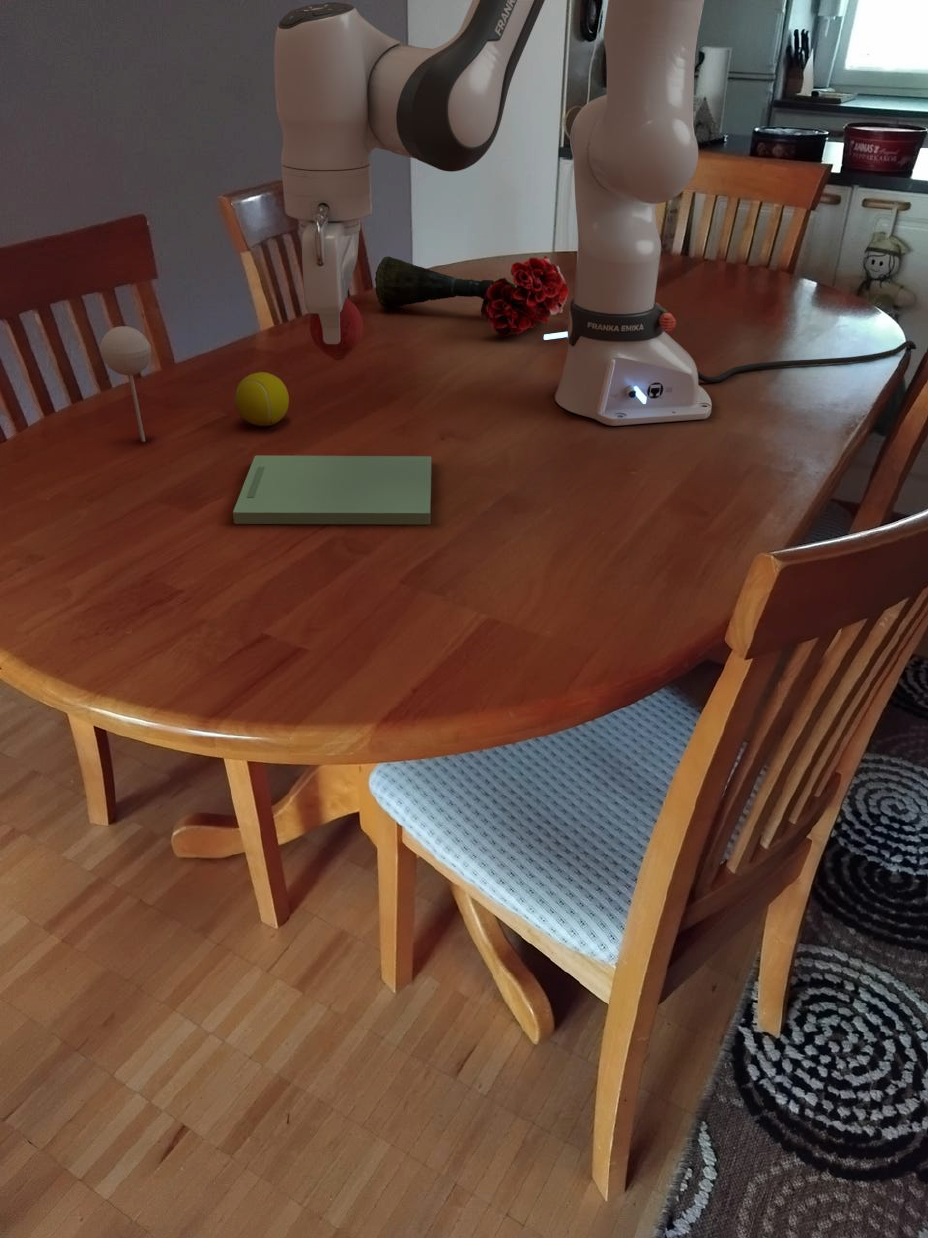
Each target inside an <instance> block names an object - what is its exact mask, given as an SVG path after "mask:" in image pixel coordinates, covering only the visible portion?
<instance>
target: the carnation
mask: <svg viewBox="0 0 928 1238" xmlns="http://www.w3.org/2000/svg"><path fill="white" fill-rule="evenodd" d="M376 268H377V269H376V271H375V278H374V281H375V295H376V299H377V302H378V304H379V305H380V306H381V307H382V308H384V309H391V308H395V307H396V308H398V307H399V306H400V307H403V306H408V305H413V304H420V303H424V302H428V301H437V300H444V299H450V298H456V297H465V298H473V297H477V298H479V299H481V300H482V303H481V307H480V308H481V309H480V314H481V317H483V318H484V319H486V320H487V321H488V323H489V325H490V326H491V328H492V329H494V330H495V331H496V333H497V334H498V335H499V336H500V337H502V338H505V337H507V336H512V335H514V334H515V335H519V334H520V333H523V332H524V331H525V330H527V329H528V328H531V329H533V328H534V327H535V326H537V325H538V322H540V323H542V324H543V325H548V324H549V319H550V316H553V315H554V316H555V315H557V314H558V313H560V314H562V313H563V310H564V309H563V307H564V305H566V302H567V299H568V298H567V297H568V296H569V294H570V288H569V287H568V285H567V284H566V280H565V277H564V275H563V274H562V273H561V269H560V267H559V265H556V264H554V263H551V259H550V258H549V257H548V256H547V255H544V257H543V258H538V257H530V258H528V259H527V260H525V261H524V262H518V261H517V262H514V263H513V264H511V268H510V273H511V276H512V280H513V282H510V281H508V279H507V278H506V277H502V278H499V279H496V280H495V281H494V280H493V279H482V280H478V279H477V280H476V279H472V278H471V279H466V278H465V279H463V278H457V277H455V276H451V275H447V274H444V273H442V272H441V273H440V272H438V271H435V270H431V269H430V268H429V269H428V268H425V267H423V266H420V265H416V264H413V263H411V262H406V261H405V260H402V259H398V258H395V257H391V256H384V257H383V258H382V259H381V261H380V262H379V264H378V265H377V267H376Z"/></svg>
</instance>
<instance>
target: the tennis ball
mask: <svg viewBox="0 0 928 1238" xmlns="http://www.w3.org/2000/svg"><path fill="white" fill-rule="evenodd" d="M234 397H235V398H234V400H235V401H234V402H235V406H236V410H237V412H238V413H239V415H240V416H241V417H242V419H244V420H245V421H246V422H247V423H249V424H252V425H254V426H258V427H271V426H273V425H275V424H277V423H279V422H280V421H281V420H282V419H283V418H284V417H285V415H286V414H287V411H288V409H289V404H290V396H289V392H288V389H287V387H286V385H285V383H284V382H283V381H282V380H281V379H280V378H279V377H278V376H276V375H274V374H272V373H269V372H264V371H259V372H253V373H251V374H249V375H247V376H245V377H244V378H243V379H242V380H241V381H240V382H239V383H238V385H237V387H236V389H235V396H234Z"/></svg>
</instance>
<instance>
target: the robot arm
mask: <svg viewBox="0 0 928 1238" xmlns="http://www.w3.org/2000/svg"><path fill="white" fill-rule="evenodd" d="M544 3H545V0H471V3H470V5H469V7H468V10H467V12H466V14H465V17H464V19H463V21H462V24H461V26H460V28H459V30H458V31H457V32H456V34H455V35H454V36H453V37H452V38H451V39H449V40H448V41H447V42H445V43H444V44H441V45H439V46H437V47H433V48H428V47H421V46H415V45H412V44H411V45H410V44H403V43H402V42H401V40H398V39H396V38H393V37H391V36H389V35H387V34H386V33H384V32H382V30H381V31H380V30H379V29H377V28H376V27H375V26H374V25H372V24H371V23H369V21H368V20H366V19H365V18H364V17H363V16H361V14H360V13H359V11H358V10H357V8H356V7H355V6H354V5H352V4H349V3H347V2H340V1H339V2H338V1H337V2H325V3H319V4H318V3H315V4H310V5H309V4H308V5H304V6H301V7H298V8H296V9H293V10H291V11H289V12H288V13H287V14H285V15H284V16H283V17H282V18H281V19H280V21H279V22H278V24H277V28H276V31H275V37H274V48H273V49H274V51H273V76H274V80H273V81H274V97H275V107H276V108H275V109H276V110H275V111H276V116H277V120H278V122H279V125H280V128H281V133H282V148H281V154H280V168H281V181H282V191H283V204H284V214H286V216H288V217H290V218H292V219H295V220H297V222H298V231H299V232H300V233H302V238H301V258H302V259H301V264H302V283H303V298H304V299H303V301H304V306H305V309H306V312H307V313H309V314H312V313H314V314H319V317H320V321H321V325H322V330H323V341H324V343H326V344H338V343H339V342H340V340H341V323H340V312H341V311H342V308H343V305H344V301H345V298H347V299H348V293H349V292H348V291H349V288H350V285H351V282H352V278H353V275H354V273H355V268H356V265H357V261H358V256H359V255H358V254H359V239H360V231H361V219H363V218H366V217H368V216H370V215H372V213H373V205H372V201H373V200H372V180H371V179H372V176H371V175H372V174H371V153H372V151H373V150H374V149H379V150H384V151H387V152H391V153H393V154H396V155H400V156H404V157H407V158H411V159H415V160H417V161H419V162H422V163H424V164H426V165H428V166H431V167H433V168H435V169H437V170H440V171H443V172H450V173H452V172H460V171H463V170H466V169H468V168H470V167H472V166H474V165H475V164H476V163H477V162H479V161H480V160H481V159H482V158H483V157H484V156H485V155H486V153H487V152H488V150H489V149H490V148H491V146H492V144H493V143H494V141H495V139H496V137H497V135H498V132H499V129H500V126H501V123H502V119H503V114H504V111H505V106H506V101H507V97H508V93H509V89H510V86H511V83H512V80H513V77H514V74H515V71H516V69H517V66H518V63H519V61H520V60H521V56H522V55H523V52H524V50H525V48H526V45H527V43H528V41H529V38H530V37H531V34H532V31H533V29H534V27H535V25H536V22H537V20H538V17H539V15H540V12H541V10H542V8H543V5H544ZM704 3H705V0H607V5H606V6H607V7H606V11H605V18H604V19H605V20H604V25H603V36H602V37H603V44H604V49H605V57H606V58H605V59H606V94H604V95H601V96H598V97H597V98H595V99H592V100H590V101H588V102H587V103H586V104H585V105H584V106H583V107H582V108H581V109H580V110H579V111H578V113H577V114H576V116H575V118H574V119H573V122H572V124H571V129H570V132H569V133H570V134H569V145H570V151H571V154H572V155H571V156H572V160H573V178H574V179H573V180H574V181H573V182H574V200H575V211H576V212H575V213H576V225H577V227H576V229H577V251H576V266H575V280H574V291H573V298H572V299H571V300H570V304H569V306H570V307H569V310H568V317H567V329H566V331H563V332H555V333H547V334H544V335H543V340H545V341H546V340H554V339H562V338H567V342H568V346H567V351H566V357H565V361H564V366H563V370H562V374H561V377H560V380H559V384H558V387H557V389H556V392H555V394H554V401H555V402H556V403H557V404H558V405H559V406H560V407H561V408H563V409H564V410H566V411H568V412H570V413H573V414H576V415H580V416H583V417H586V418H591V419H594V420H596V421H597V422H600V423H601V424H603V425H607V426H610V427H611V426H612V427H613V426H615V427H616V426H617V427H618V426H631V425H643V424H656V423H670V422H682V421H683V422H684V421H695V420H696V421H697V420H706V419H708V418H709V417H710V415H711V414H712V408H713V407H712V406H713V404H712V403H713V402H712V400H711V397H710V395H709V394H708V392H707V391H706V390H705V389H704V388H703V387H702V386H701V385H699V380H700V381H702V382H704V383H708V384H716V383H717V384H718V383H721V382H722V381H725V380H726V379H727V378H729V377H731V376H732V375H734V374H737V373H741V372H746V371H754V370H760V369H770V368H771V369H772V368H782V367H784V368H785V367H798V366H799V367H800V366H801V367H802V366H819V365H833V364H847V363H849V364H850V363H858V362H867V361H872V360H879V359H883V358H884V359H885V358H887V357H892V356H894V355H895V356H896V355H897V354H899V353H900V352H902V351H903V350H905V349H906V348H908V347H909V348H910V349H911V350H917V345H916V344H915V342H914V341H912V340H906V341H904V342H902V343H901V344H900V345H899V346H897V347H896V348H893V349H889V350H886V351H881V352H877V353H871V354H864V355H857V356H846V357H831V358H829V357H828V358H815V359H794V360H793V359H792V360H779V361H767V362H758V363H749V364H744V365H738V366H734V367H732V368H730V369H728V370H726V371H725V372H723V373H722V374H720V375H718V376H707V375H705V374H703V373H702V372H700V371H698V368H697V364H696V362H695V360H694V359H693V358H692V355H690V353H689V352H688V351H687V350H686V349H684V348H683V347H682V346H681V345H680V344H679V342H677V341H676V340H675V339H673V338H672V337H671V336H670V335H669V334H668V333H667V332H670V331H673V330H674V328H675V327H676V325H677V320H676V319H675V317H674V316H673V314H672V313H670V312H668V311H667V309H665V308H664V307H663V306H661V305H660V304H659V303H658V302H655V301H656V293H657V286H658V284H657V283H658V279H659V278H658V277H659V270H660V261H661V254H662V242H661V237H660V234H659V228H658V224H657V212H656V204H657V205H658V204H663V203H667V202H668V201H671V200H673V199H674V198H676V197H678V196H679V195H680V194H682V193H683V191H685V190H686V188H687V187H688V185H689V184H690V182H691V181H692V179H693V177H694V175H695V173H696V170H697V167H698V162H699V144H698V141H697V137H696V133H695V128H694V88H695V85H694V84H695V60H696V59H695V58H696V51H697V41H698V36H699V30H700V24H701V20H702V14H703V9H704ZM908 345H909V346H908Z"/></svg>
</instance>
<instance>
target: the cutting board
mask: <svg viewBox="0 0 928 1238" xmlns="http://www.w3.org/2000/svg"><path fill="white" fill-rule="evenodd" d="M431 499H432V456H431V455H430V456H429V455H425V456H424V455H256V454H255V455H254V456H253V460H252V461H251V465H250V468H249V470H248V472H247V475H246V477H245V480H244V483H243V484H242V488H241V490H240V493H239V494H238V498H237V501H236V503H235V506H234V508H233V511H232V516H233V517H232V518H233V523H234V525H417V526H418V525H419V526H420V525H424V526H425V525H426V526H427V525H429V526H430V525H431V507H432V506H431V505H432V504H431V502H432V501H431Z"/></svg>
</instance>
